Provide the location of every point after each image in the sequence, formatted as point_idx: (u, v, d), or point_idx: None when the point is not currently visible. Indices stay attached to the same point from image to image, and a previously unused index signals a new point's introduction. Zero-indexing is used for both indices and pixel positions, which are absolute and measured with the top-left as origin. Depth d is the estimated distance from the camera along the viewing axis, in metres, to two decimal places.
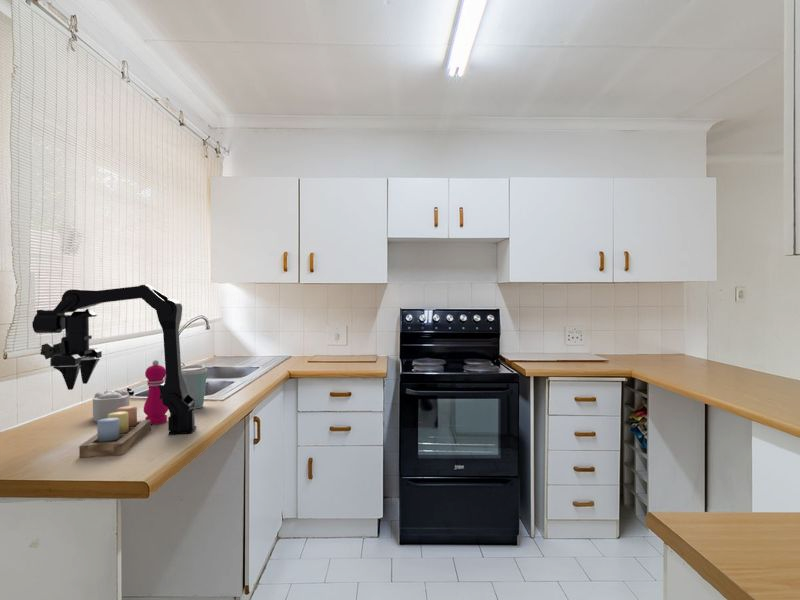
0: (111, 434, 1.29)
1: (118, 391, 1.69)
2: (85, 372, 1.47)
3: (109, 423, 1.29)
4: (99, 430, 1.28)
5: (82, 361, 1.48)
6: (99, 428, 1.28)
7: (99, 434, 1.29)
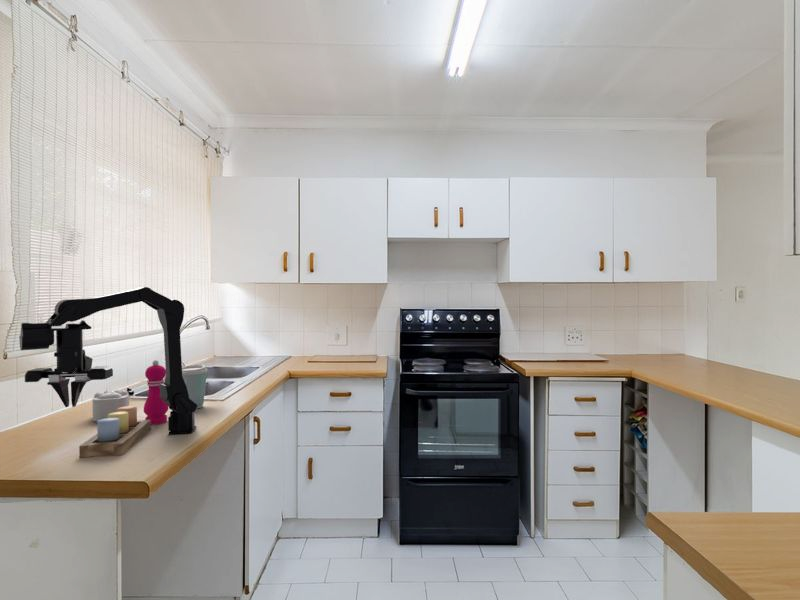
0: (111, 434, 1.29)
1: (118, 391, 1.68)
2: None
3: (109, 423, 1.29)
4: (99, 430, 1.28)
5: None
6: (99, 428, 1.28)
7: (99, 434, 1.29)
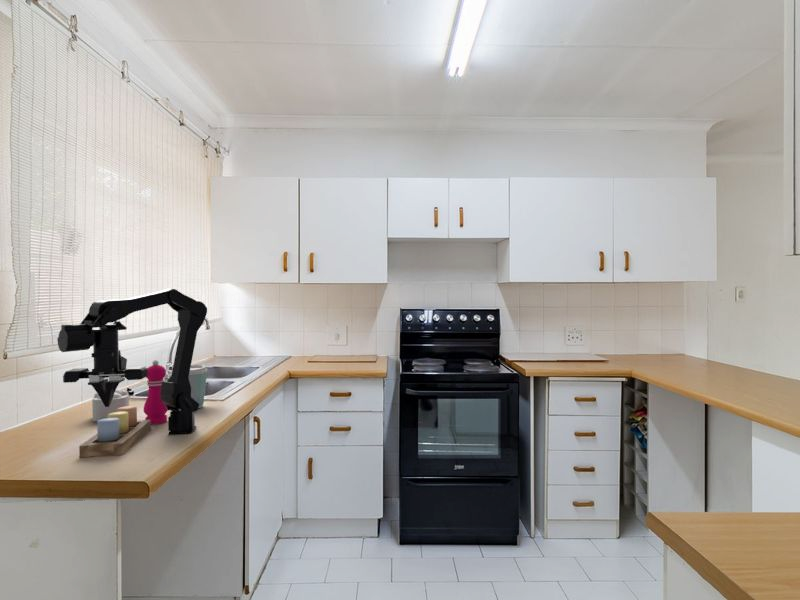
0: (111, 434, 1.29)
1: (118, 391, 1.68)
2: None
3: (109, 423, 1.29)
4: (99, 430, 1.28)
5: None
6: (99, 428, 1.28)
7: (99, 434, 1.29)
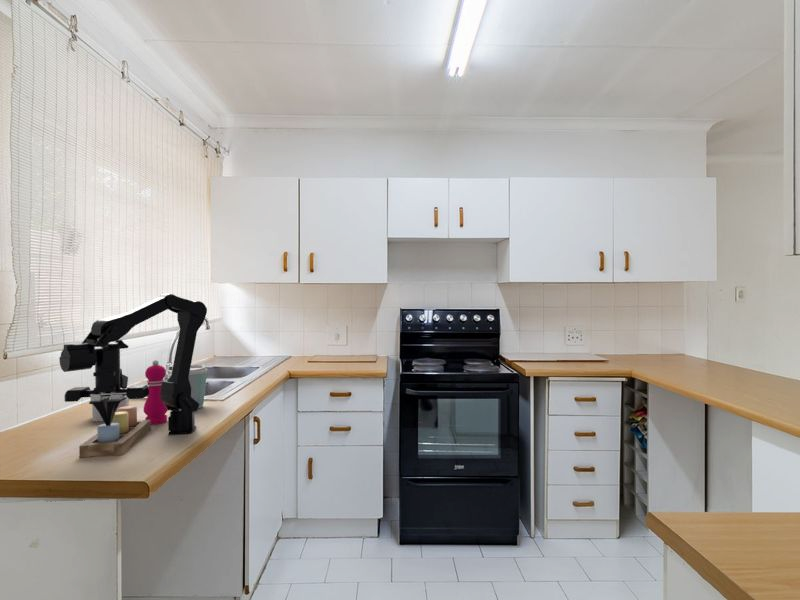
0: (111, 439, 1.29)
1: None
2: None
3: (109, 428, 1.29)
4: (99, 435, 1.28)
5: None
6: (99, 433, 1.28)
7: (99, 439, 1.29)
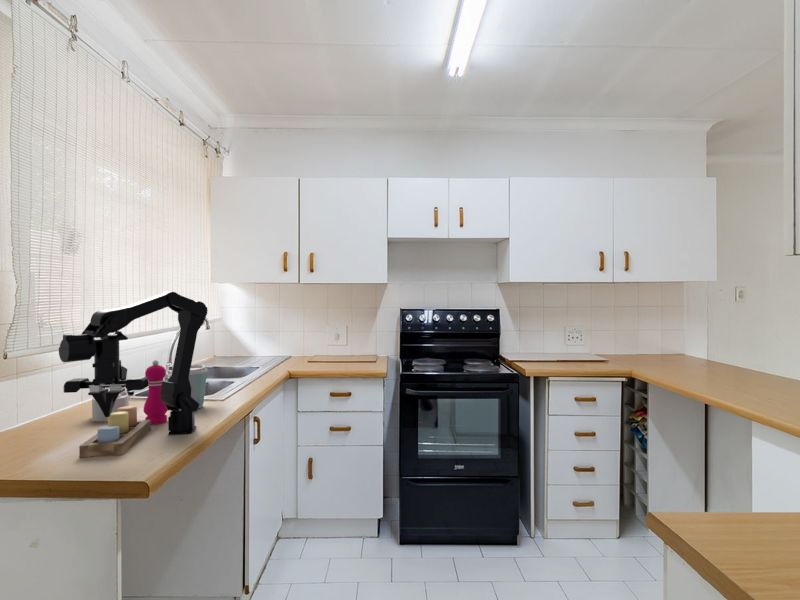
0: None
1: None
2: None
3: (109, 431, 1.29)
4: (99, 438, 1.28)
5: None
6: (99, 436, 1.28)
7: (99, 442, 1.29)
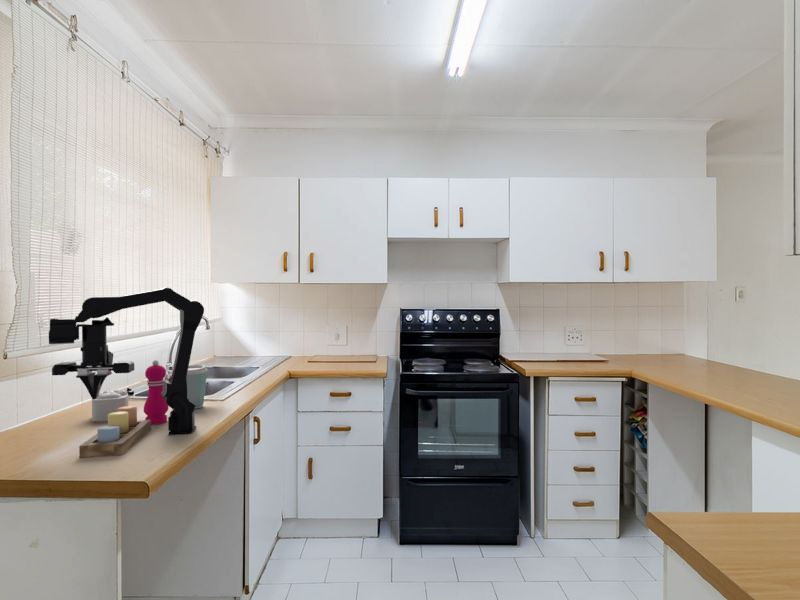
0: None
1: (117, 391, 1.68)
2: None
3: (109, 431, 1.29)
4: (99, 438, 1.28)
5: None
6: (99, 436, 1.28)
7: (99, 442, 1.29)
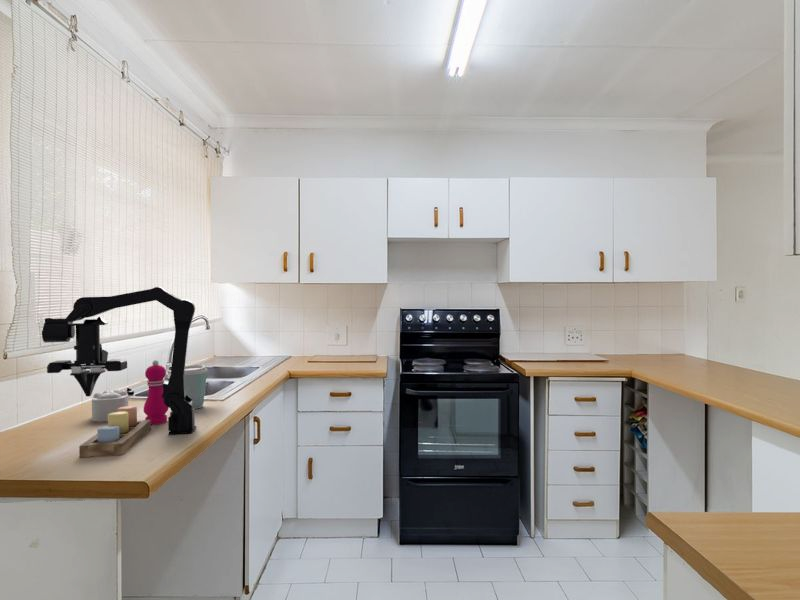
0: None
1: (117, 391, 1.68)
2: None
3: (109, 431, 1.29)
4: (99, 438, 1.28)
5: None
6: (99, 436, 1.28)
7: (99, 442, 1.29)
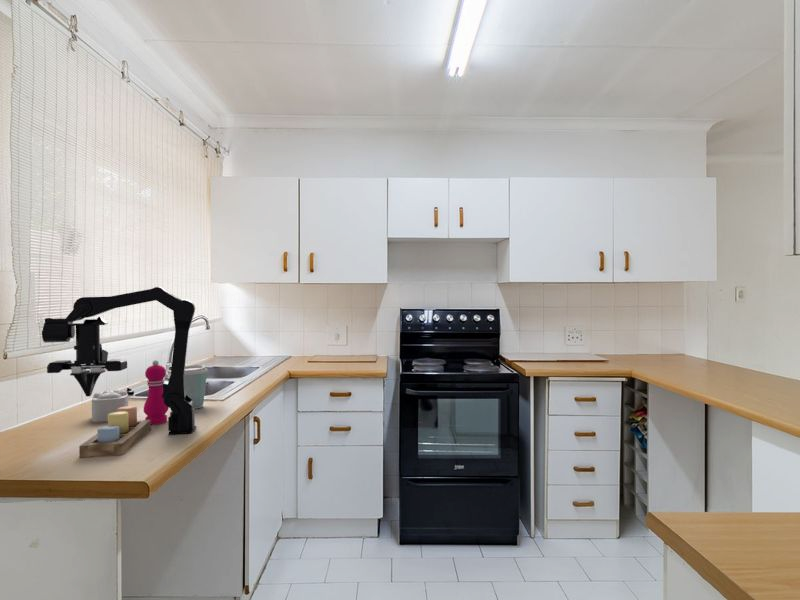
0: None
1: (117, 391, 1.68)
2: None
3: (109, 431, 1.29)
4: (99, 438, 1.28)
5: None
6: (99, 436, 1.28)
7: (99, 442, 1.29)
